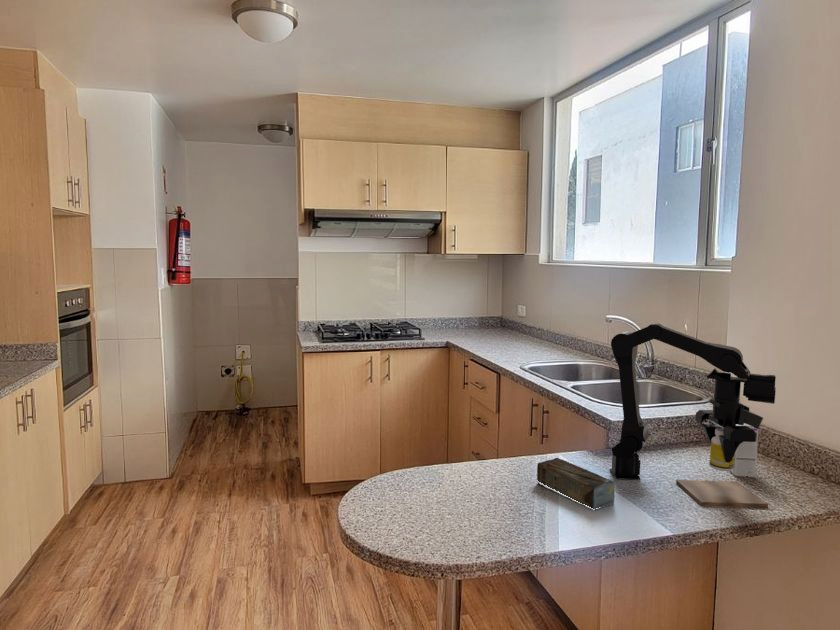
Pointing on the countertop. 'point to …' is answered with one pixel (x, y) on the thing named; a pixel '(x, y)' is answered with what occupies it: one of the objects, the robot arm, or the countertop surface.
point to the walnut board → (721, 493)
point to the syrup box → (746, 457)
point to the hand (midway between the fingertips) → (721, 458)
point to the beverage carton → (576, 482)
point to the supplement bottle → (719, 454)
